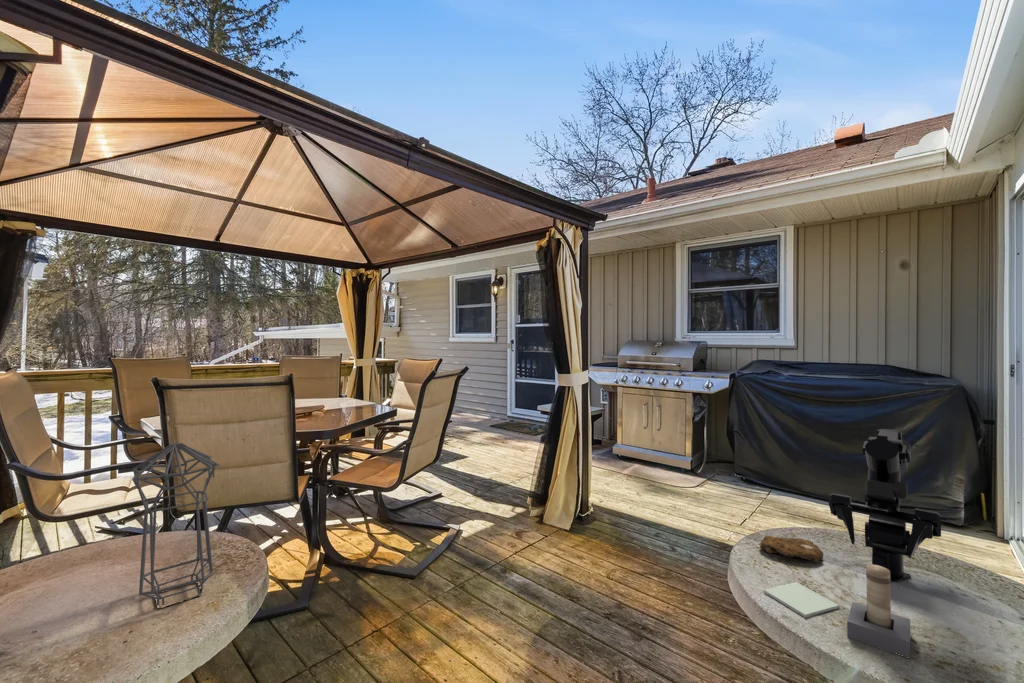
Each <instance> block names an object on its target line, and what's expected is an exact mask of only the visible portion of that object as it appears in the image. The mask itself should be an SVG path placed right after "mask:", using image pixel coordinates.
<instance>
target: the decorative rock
mask: <svg viewBox="0 0 1024 683" xmlns="http://www.w3.org/2000/svg"><path fill="white" fill-rule="evenodd" d="M758 546H759V548H760V549H762V550H763V549H764V550H765V552H766V553H769V554H773V553H775V554H779V555H783V556H784V557H785V558H786V557H788V558H791V559H793V558H795V557H796V558H799V557H801V558H800V559H803V558H804V560H807V559H808V561H812V560H814V561H815V562H817V563H816V564H819V562H820V561H821V559H823V560H824V552H823V551H822V550H821V548H819V547H818V546H817V544H815V543H814V542H812V541H811V540H809V539H804V538H795V537H791V538H790V537H779V536H778V537H777V536H775V537H774V536H772V535H765V536H764V538H763V539H762V540H761V542H760V543H758ZM764 550H763V551H764ZM794 556H795V557H794ZM814 561H813V562H814ZM815 562H814V563H815Z"/></svg>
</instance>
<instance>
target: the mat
mask: <svg viewBox="0 0 1024 683" xmlns="http://www.w3.org/2000/svg"><path fill="white" fill-rule="evenodd" d="M763 593H764V594H765V595H768V596H769V597H770V598H773V599H774V600H776V601H777V602H779V603H781V604H782V605H784V606H786V607H787V608H788V609H791V610H792V611H794V612H795V613H797V614H798V615H801V616H802V617H803V618H809V617H812V616H816V615H820V614H824V613H826V612H830V611H834V610H837V609H840V604H838V603H835V602H833V601H832V600H830V599H828V598H826V597H825V596H823V595H820V594H819V593H817V592H816V591H813V590H811V589H809V588H808V587H807V586H804V585H802V584H800V583H798V582H796V581H795V582H791V583H786V584H782V585H777V586H774V587H769V588H765V589H763Z"/></svg>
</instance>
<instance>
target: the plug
mask: <svg viewBox="0 0 1024 683" xmlns="http://www.w3.org/2000/svg"><path fill="white" fill-rule="evenodd" d="M865 570H866V571H865V578H866V606H867V622H869V623H872V624H875V625H878V626H881V627H884V628H887V629H890V630H891V614H892V606H891V595H892V594H891V582H892V581H891V577H890V571H889V570H888V569H887V568H884V567H882V566H878V565H872V563H871V564H866V567H865Z"/></svg>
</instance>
